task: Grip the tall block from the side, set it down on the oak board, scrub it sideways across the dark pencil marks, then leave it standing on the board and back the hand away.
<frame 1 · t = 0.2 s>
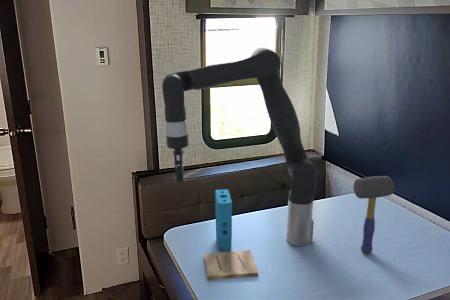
hand: (180, 177, 154), 29 cm above the table, tool pointing down, fingers open, 8 cm apart
oak board: (230, 266, 152), on the table
block: (223, 244, 166), on the table
rubber mallet: (366, 253, 159), on the table
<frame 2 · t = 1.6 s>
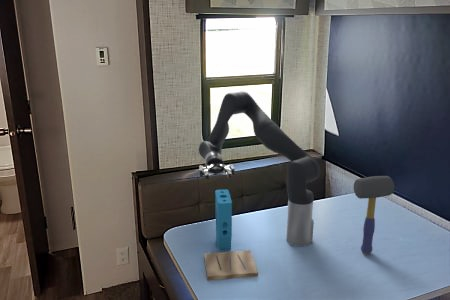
hand: (218, 176, 172), 22 cm above the table, tool horizontal, fingers open, 8 cm apart
nothing on the table moved.
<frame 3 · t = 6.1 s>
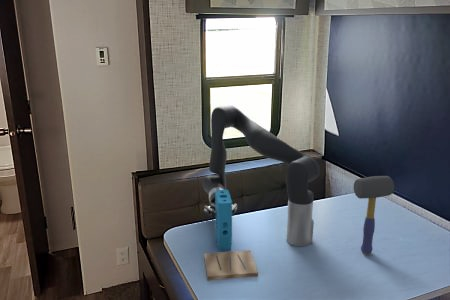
hand: (223, 218, 162), 11 cm above the table, tool horizontal, fingers closed on block, 2 cm apart
block: (223, 244, 166), on the table, touching gripper
everything else where it was.
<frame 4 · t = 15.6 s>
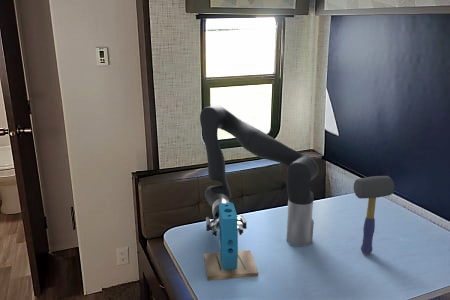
hand: (228, 233, 148), 13 cm above the table, tool horizontal, fingers open, 8 cm apart
block: (228, 263, 151), point 1 cm above the table, touching oak board
everything else where it was.
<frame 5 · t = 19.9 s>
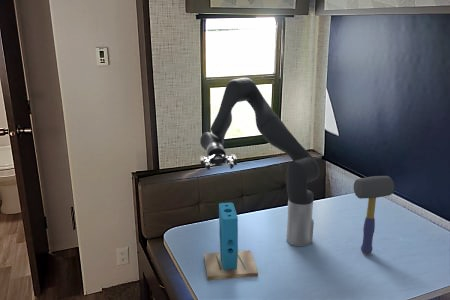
hand: (220, 167, 165), 28 cm above the table, tool horizontal, fingers open, 8 cm apart
nothing on the table moved.
at the end: block inside the target area on the oak board (0.5 cm from its centre), point 1.3 cm above the oak board's base; block tilted 1°; the gripper is holding nothing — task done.
